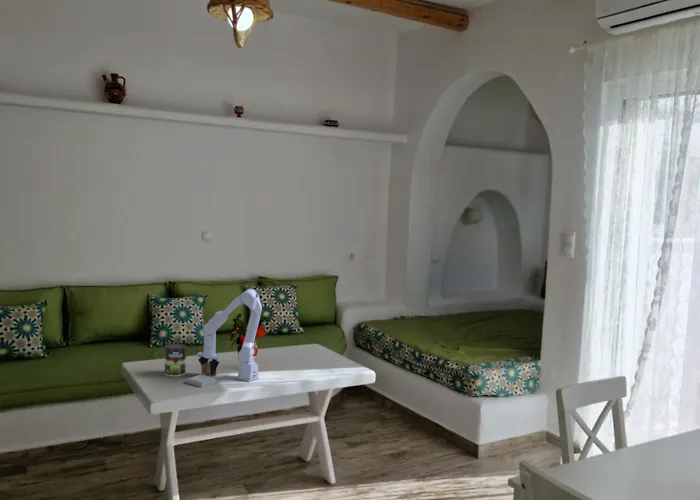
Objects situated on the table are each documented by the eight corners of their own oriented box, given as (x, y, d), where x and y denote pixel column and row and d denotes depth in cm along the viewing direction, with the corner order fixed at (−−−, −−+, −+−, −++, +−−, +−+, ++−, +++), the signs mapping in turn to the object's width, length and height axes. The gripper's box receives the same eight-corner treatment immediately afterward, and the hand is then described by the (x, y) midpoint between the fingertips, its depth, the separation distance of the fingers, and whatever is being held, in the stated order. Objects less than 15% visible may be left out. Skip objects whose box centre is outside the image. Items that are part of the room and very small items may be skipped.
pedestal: (216, 382, 293) (216, 377, 293) (201, 387, 284) (201, 382, 284) (201, 378, 298) (201, 373, 298) (186, 383, 289) (186, 378, 289)
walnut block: (216, 375, 303) (216, 364, 303) (208, 378, 299) (209, 366, 298) (208, 373, 306) (209, 362, 305) (201, 376, 301) (201, 364, 301)
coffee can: (185, 376, 300) (186, 348, 298) (164, 377, 297) (164, 348, 296) (185, 370, 309) (186, 343, 308) (164, 371, 307) (165, 343, 305)
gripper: (226, 347, 301) (225, 374, 302) (204, 342, 308) (204, 368, 309) (216, 349, 295) (215, 377, 296) (194, 344, 302) (193, 371, 303)
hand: (208, 373), depth 302 cm, fingers closed on walnut block, 5 cm apart
